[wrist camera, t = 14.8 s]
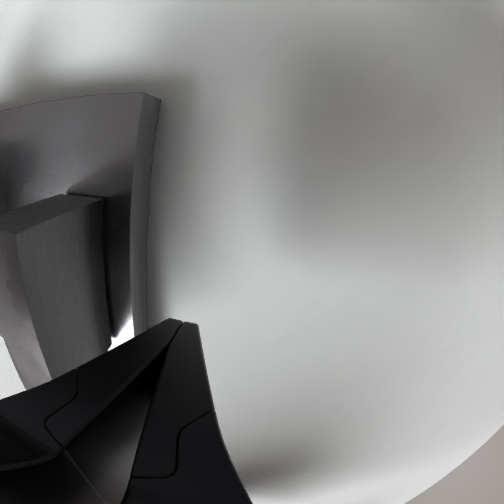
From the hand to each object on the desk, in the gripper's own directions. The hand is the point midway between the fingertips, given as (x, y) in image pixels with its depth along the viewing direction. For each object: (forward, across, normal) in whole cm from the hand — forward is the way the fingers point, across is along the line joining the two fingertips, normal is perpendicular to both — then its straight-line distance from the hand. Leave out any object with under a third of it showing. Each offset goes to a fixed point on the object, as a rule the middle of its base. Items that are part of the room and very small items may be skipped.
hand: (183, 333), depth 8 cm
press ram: (+2, +9, 0) cm, 10 cm away
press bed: (+3, +15, 0) cm, 15 cm away
